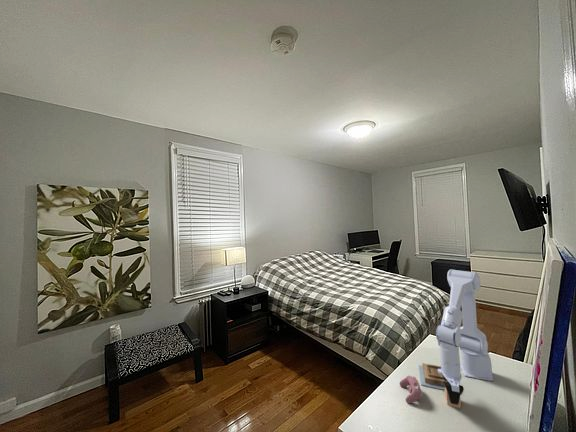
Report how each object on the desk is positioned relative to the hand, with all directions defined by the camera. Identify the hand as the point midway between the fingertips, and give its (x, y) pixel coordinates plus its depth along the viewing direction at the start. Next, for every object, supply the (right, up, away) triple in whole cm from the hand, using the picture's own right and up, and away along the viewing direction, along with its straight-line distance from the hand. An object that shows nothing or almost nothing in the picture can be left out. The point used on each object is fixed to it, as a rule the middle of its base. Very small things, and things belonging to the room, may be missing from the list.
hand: (452, 398), depth 84 cm
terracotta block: (0, -2, 0) cm, 2 cm away
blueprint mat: (+2, -1, +12) cm, 12 cm away
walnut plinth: (+2, -1, +12) cm, 12 cm away
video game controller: (-13, -3, +5) cm, 14 cm away
